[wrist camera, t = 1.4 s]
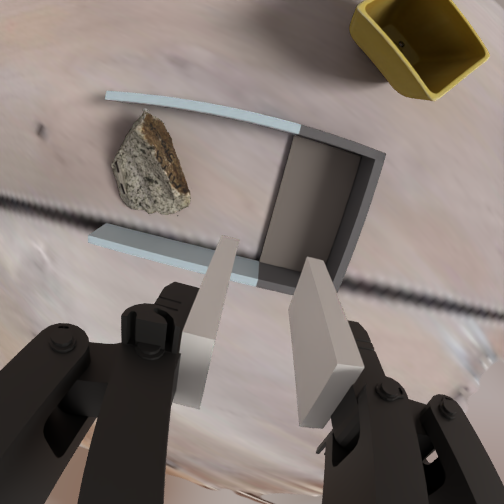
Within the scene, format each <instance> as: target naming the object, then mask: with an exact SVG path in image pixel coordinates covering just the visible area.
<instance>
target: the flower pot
mask: <svg viewBox="0 0 504 504" xmlns="http://www.w3.org/2000/svg"><path fill="white" fill-rule="evenodd" d="M349 30H350V34H351V37H352V38H353V40H354V41H355V43H356V44H357V45H358V46H359V47H360V48H361V49H362V50H363V52H364V53H365V54H366V55H367V56H368V57H369V58H370V60H371V61H372V62H373V63H374V64H375V66H376V67H377V68H378V69H379V71H380V72H381V73H382V74H383V76H384V77H385V78H386V79H387V81H388V82H389V83H390V85H391V86H392V87H393V88H394V89H395V90H396V91H397V92H398V93H400V94H401V95H403V96H405V97H409V98H415V99H423V100H430V101H436V100H438V99H439V98H441V97H442V96H443V95H444V94H446V93H447V92H448V91H449V90H451V89H452V88H453V87H454V86H455V85H457V84H458V83H459V82H460V81H462V80H463V79H464V78H465V77H467V76H468V75H469V74H470V73H471V72H473V71H474V70H475V69H477V68H478V67H479V66H481V65H482V64H483V63H484V62H486V61H487V60H488V58H489V57H490V54H489V52H488V50H487V48H486V47H485V45H484V43H483V42H482V40H481V39H480V37H479V36H478V35H477V33H476V32H475V30H474V29H473V27H472V26H471V25H470V23H469V22H468V21H467V19H466V18H465V17H464V15H463V14H462V13H461V11H460V10H459V9H458V7H457V6H456V5H455V4H454V2H453V1H452V0H364V1H362V2H361V3H359V4H358V5H357V7H356V9H355V12H354V15H353V17H352V20H351V23H350V27H349ZM399 42H402V43H403V45H404V46H403V47H401V46H400V45H399Z"/></svg>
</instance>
